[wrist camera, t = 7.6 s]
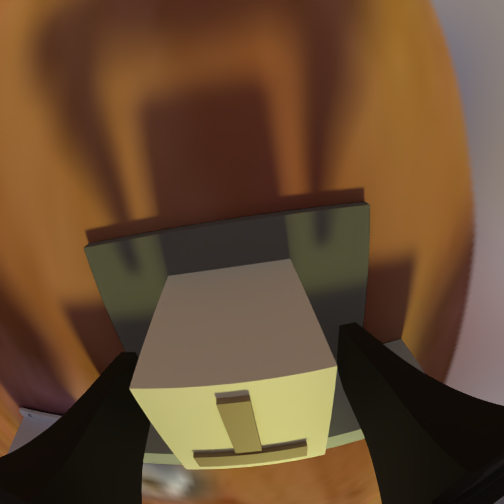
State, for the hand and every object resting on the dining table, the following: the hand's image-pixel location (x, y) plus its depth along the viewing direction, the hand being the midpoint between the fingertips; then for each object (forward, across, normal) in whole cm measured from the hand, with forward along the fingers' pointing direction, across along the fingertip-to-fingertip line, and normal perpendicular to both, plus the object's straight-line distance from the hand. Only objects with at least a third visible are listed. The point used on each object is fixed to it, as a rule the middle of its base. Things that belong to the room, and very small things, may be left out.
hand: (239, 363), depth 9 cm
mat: (+4, 0, 0) cm, 4 cm away
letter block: (+3, 0, 0) cm, 3 cm away
